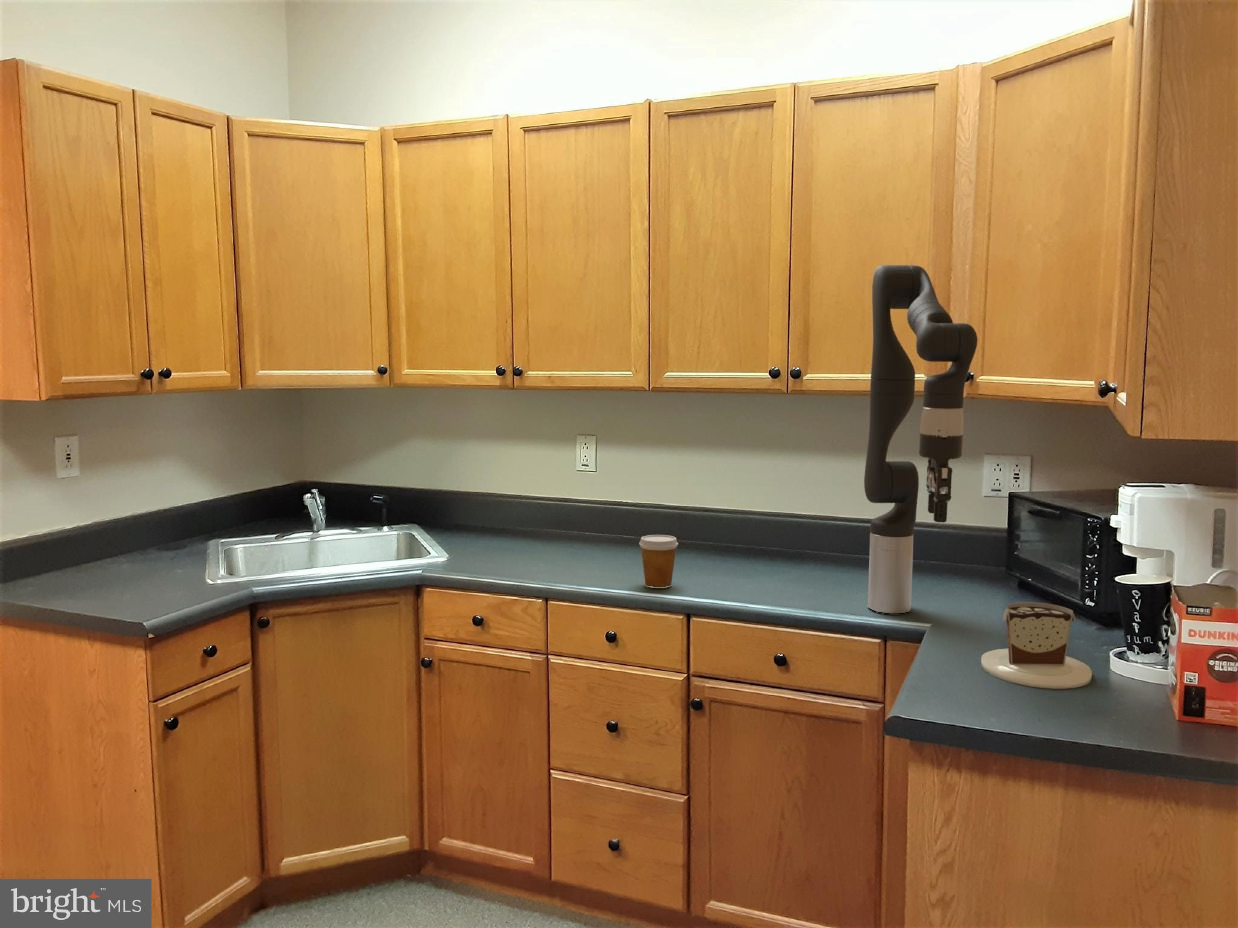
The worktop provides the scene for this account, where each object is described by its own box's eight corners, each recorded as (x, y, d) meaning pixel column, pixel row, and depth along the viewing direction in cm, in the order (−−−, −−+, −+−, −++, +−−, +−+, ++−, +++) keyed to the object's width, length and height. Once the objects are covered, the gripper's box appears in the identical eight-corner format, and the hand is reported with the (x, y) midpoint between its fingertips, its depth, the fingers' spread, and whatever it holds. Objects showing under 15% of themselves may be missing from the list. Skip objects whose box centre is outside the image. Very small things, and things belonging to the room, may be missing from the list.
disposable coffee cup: (683, 583, 226) (683, 536, 225) (669, 592, 218) (669, 543, 216) (648, 579, 230) (648, 533, 229) (632, 588, 222) (632, 539, 220)
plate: (973, 651, 174) (974, 644, 174) (1076, 658, 170) (1076, 651, 170) (989, 683, 157) (990, 676, 156) (1104, 692, 152) (1104, 685, 152)
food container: (1057, 654, 168) (1060, 601, 167) (1073, 665, 162) (1076, 610, 161) (989, 653, 168) (992, 601, 167) (1002, 664, 162) (1005, 610, 161)
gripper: (916, 427, 177) (911, 509, 179) (924, 435, 163) (920, 524, 165) (956, 428, 175) (952, 511, 178) (969, 436, 162) (964, 526, 164)
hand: (936, 517), depth 172 cm, fingers open, 8 cm apart
